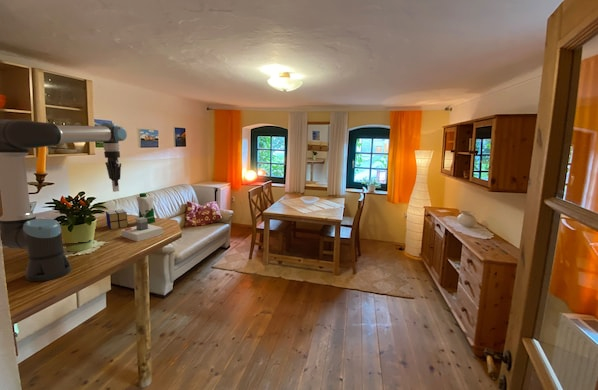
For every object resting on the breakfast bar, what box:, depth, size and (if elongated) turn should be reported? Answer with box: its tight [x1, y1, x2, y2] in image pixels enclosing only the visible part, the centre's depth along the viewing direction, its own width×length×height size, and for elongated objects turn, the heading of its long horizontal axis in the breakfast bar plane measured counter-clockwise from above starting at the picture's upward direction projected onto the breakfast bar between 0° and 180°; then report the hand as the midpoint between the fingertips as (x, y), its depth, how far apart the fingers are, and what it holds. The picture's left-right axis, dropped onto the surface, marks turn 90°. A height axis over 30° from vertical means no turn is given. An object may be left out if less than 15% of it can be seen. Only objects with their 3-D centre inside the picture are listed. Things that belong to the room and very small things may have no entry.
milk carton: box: [136, 192, 156, 225], centre depth 205 cm, size 9×9×20 cm
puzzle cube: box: [105, 208, 129, 230], centre depth 196 cm, size 10×10×10 cm
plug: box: [135, 217, 148, 231], centre depth 180 cm, size 4×4×10 cm
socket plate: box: [120, 223, 164, 243], centre depth 180 cm, size 16×16×5 cm
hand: (116, 191), depth 177 cm, fingers closed
